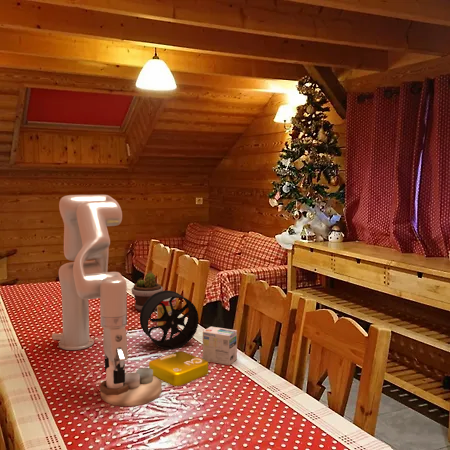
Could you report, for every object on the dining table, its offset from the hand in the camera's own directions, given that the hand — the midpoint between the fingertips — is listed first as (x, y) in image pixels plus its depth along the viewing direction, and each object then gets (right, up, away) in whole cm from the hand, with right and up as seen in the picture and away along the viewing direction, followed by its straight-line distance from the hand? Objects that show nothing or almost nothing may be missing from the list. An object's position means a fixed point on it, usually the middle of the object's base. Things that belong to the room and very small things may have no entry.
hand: (114, 376), depth 146 cm
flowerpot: (-4, +4, +89) cm, 90 cm away
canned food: (+8, +1, +66) cm, 66 cm away
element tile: (+17, -5, +17) cm, 25 cm away
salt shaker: (0, -4, +1) cm, 4 cm away
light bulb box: (+31, -3, +29) cm, 42 cm away
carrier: (+4, -6, +3) cm, 8 cm away
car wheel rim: (+11, -1, +43) cm, 44 cm away
